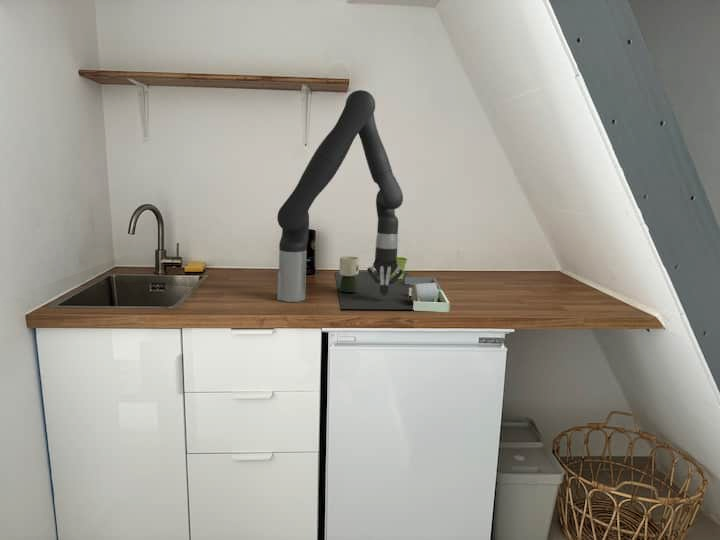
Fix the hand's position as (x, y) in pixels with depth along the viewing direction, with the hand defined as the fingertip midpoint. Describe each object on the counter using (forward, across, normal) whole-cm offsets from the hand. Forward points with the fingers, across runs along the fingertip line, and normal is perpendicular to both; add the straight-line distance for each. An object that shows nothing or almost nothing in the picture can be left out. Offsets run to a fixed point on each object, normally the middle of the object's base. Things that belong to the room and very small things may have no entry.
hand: (383, 295), depth 184 cm
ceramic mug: (+3, +15, -2) cm, 15 cm away
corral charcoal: (+2, +15, +20) cm, 25 cm away
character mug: (+3, -13, +12) cm, 18 cm away
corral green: (+2, +15, 0) cm, 15 cm away
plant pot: (+3, +6, +40) cm, 40 cm away
